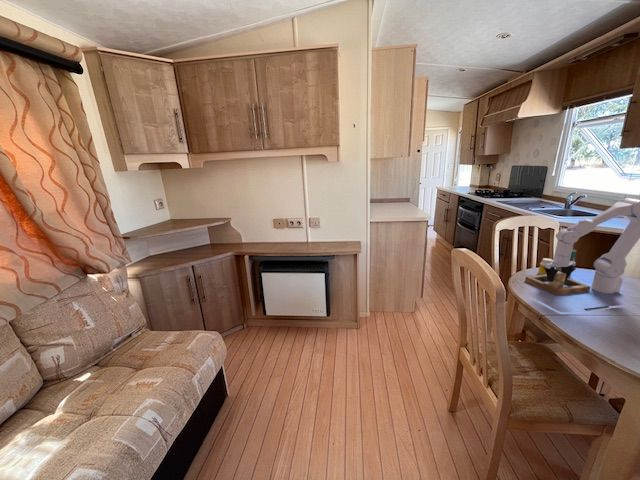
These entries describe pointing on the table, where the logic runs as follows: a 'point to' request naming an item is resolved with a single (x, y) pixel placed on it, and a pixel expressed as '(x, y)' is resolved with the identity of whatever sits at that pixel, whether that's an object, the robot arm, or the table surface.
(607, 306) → the place mat
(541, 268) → the supplement bottle
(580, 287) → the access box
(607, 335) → the table surface
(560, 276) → the beech block
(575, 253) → the can
